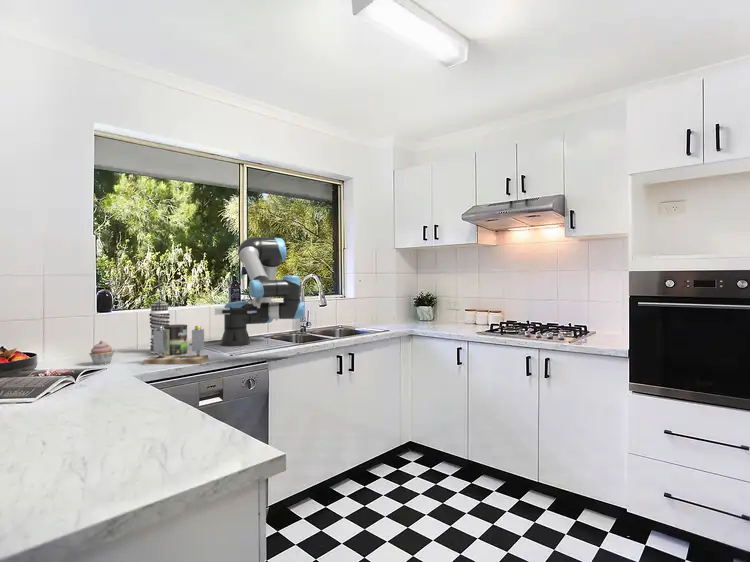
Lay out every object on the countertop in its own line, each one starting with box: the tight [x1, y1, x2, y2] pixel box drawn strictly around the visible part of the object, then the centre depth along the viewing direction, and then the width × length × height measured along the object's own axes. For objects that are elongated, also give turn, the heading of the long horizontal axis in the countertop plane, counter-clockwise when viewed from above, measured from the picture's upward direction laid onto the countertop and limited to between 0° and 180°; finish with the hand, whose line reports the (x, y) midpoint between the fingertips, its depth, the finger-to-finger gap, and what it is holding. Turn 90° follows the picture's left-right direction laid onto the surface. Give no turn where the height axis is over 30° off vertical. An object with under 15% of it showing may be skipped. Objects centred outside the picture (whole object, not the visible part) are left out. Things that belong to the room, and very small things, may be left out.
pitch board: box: [142, 354, 209, 365], centre depth 195 cm, size 24×10×2 cm, turn 96°
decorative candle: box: [148, 300, 171, 354], centre depth 220 cm, size 9×9×25 cm
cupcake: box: [88, 340, 115, 365], centre depth 192 cm, size 9×9×10 cm
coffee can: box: [163, 324, 188, 356], centre depth 212 cm, size 10×10×14 cm
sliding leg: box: [191, 325, 205, 356], centre depth 195 cm, size 4×4×13 cm
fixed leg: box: [153, 326, 167, 358], centre depth 194 cm, size 4×4×14 cm
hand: (215, 311), depth 196 cm, fingers closed
